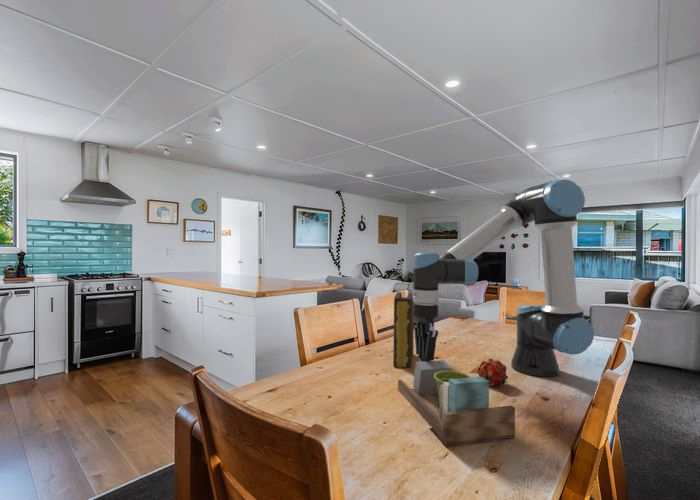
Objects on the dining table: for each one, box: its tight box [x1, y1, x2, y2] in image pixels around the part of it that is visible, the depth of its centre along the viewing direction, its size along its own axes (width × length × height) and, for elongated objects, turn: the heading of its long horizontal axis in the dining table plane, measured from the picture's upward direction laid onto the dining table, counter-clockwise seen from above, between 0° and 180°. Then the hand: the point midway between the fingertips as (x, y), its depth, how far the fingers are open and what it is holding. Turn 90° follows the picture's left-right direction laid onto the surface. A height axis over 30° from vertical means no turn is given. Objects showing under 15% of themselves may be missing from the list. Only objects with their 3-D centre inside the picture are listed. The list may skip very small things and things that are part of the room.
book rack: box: [397, 376, 516, 448], centre depth 91 cm, size 17×29×13 cm, turn 13°
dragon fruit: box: [477, 358, 509, 388], centre depth 111 cm, size 8×8×12 cm
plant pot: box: [434, 370, 471, 403], centre depth 91 cm, size 9×9×9 cm
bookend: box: [412, 359, 451, 395], centre depth 102 cm, size 9×4×8 cm, turn 103°
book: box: [392, 291, 416, 369], centre depth 136 cm, size 22×8×25 cm, turn 168°
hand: (424, 381), depth 107 cm, fingers closed
